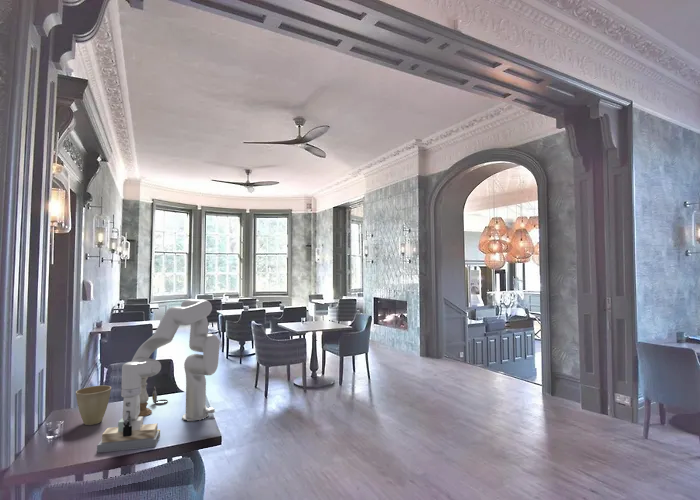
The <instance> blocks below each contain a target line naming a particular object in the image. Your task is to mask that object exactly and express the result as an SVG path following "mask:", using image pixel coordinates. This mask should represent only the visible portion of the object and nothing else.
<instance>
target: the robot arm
mask: <svg viewBox="0 0 700 500" xmlns="http://www.w3.org/2000/svg"><path fill="white" fill-rule="evenodd" d="M212 310H213V306H212V303H211V302H210V301H209V300H207V299H195V298H194V299H193V298H189V299H184V300H183V301H182V302H181V304H180V306H171V307H169V308H168V309H166V311H165V313H164V315H163V317H162V319H161V321H160V322H159V324H158V326H157V328H156V329H155V332H154V333H153V334H152V336H150V337H149V338H147V340H146V341H144V342H143V343H142V344H141V345H140V346H139V347H138V349H137V350H136V352H135V353H134V355H133V357H132V359H131V361H128V362H125V363H123V364H122V366H121V393H120V395H121V398H123V400H122V401H123V402H122V418H123V421H124V423H123V424H124V425H123V437H126V436H131V435H132V426H131V423H132V420H135V419H136V418H137V417H138V415H139V414H140V396H139V395H140V394H141V378H142V377H148V378H150V377H154V376H156V375H158V374H160V371H161V370H162V364H161V362H160V361H159V360H157V359H155V358H150V356H151V355H152V354H154V352H155V351H156V350H157V349H159V348H161V347H164V346H166V345H168V344H169V343H171V342H172V341H173V340H174V337H175V335H176V333H177V331H178V330H179V327H180V326H188V325H190V329H189V331H190V332H189V341H188V342H189V345H188V346H189V349H190V350H191V351H192V352H197V353H194V354H189V355H188V356H187V357H186V358H185V360H184V365H183V366H184V367H183V368H184V372H185V374H184V375H185V413H184V414H183V415H181V416H182V417H181V419H182V420H183V421H184V420H187V421H186V422H194V421H193V420H199V421H202V420H201V419H203V418H205V419H207V418H208V417H209V414H214V413H216V412H215V408H213V407H209V408H208V407H207V405H206V402H207V401H206V400H207V399H206V398H207V395H206V394H207V380H206V379H207V378H206V376H212V375H213V374H215V373H216V371H217V369H218V366H219V359H220V358H219V355H220V340H219V337H218V336H217V335H216V334H214V333H209V331H208V329H209V323H208V321H209V320H208V318H207V317H208V316H210V314H211V313H212ZM199 353H202V354H199ZM206 417H207V418H206ZM128 418H131V419H128ZM203 420H204V419H203ZM129 421H130V423H129Z"/></svg>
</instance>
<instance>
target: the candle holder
mask: <svg viewBox="0 0 700 500" xmlns="http://www.w3.org/2000/svg"><path fill="white" fill-rule="evenodd" d="M148 378H149V377H142V378H141V394H140V395H139V396H140V414H139V415H138V417H141V416H143V417H147V416H150V415H151V414H152V413H153V410H152V409H150V408H149V407H147V406H148V404H149V403H148V401H149V398H150V397H149V394H148V392H147V386H148V382H147V380H148Z"/></svg>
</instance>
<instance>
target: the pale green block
mask: <svg viewBox="0 0 700 500" xmlns="http://www.w3.org/2000/svg"><path fill="white" fill-rule="evenodd" d="M128 419H131V418H128ZM123 423H124V421H123V417H121V418H120V419H119V421H118V423H117V424H118V425H117V427H118V432H122V431H123V425H124V424H123ZM129 423H130V421H129Z"/></svg>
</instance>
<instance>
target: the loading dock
mask: <svg viewBox="0 0 700 500" xmlns="http://www.w3.org/2000/svg"><path fill="white" fill-rule="evenodd" d="M160 437H161V429H157V433H156V435H155V437H154V438H146V439H135V440H125V441H115V442H105V443H102V439H101V440H100V441H99V443H98V444H97V445H96V453H105V452H106V453H108V452H116V451H118V452H119V451H126V450H135V449H137V450H138V449H147V448H155V447H156V445H157V444H158V442H159V440H160Z"/></svg>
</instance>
